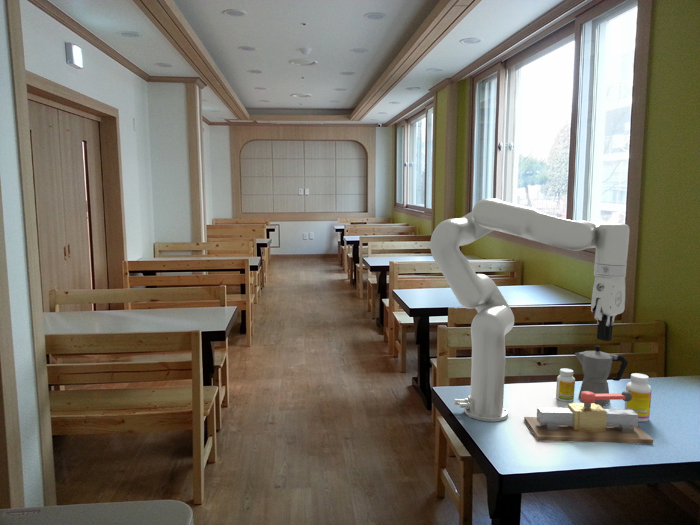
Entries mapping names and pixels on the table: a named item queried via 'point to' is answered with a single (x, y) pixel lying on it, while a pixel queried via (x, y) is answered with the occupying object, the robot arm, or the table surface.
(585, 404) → the lever
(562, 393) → the supplement bottle
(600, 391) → the coffeepot
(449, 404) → the table surface
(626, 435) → the plank
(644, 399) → the supplement bottle
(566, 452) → the table surface
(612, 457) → the table surface
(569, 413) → the valve
